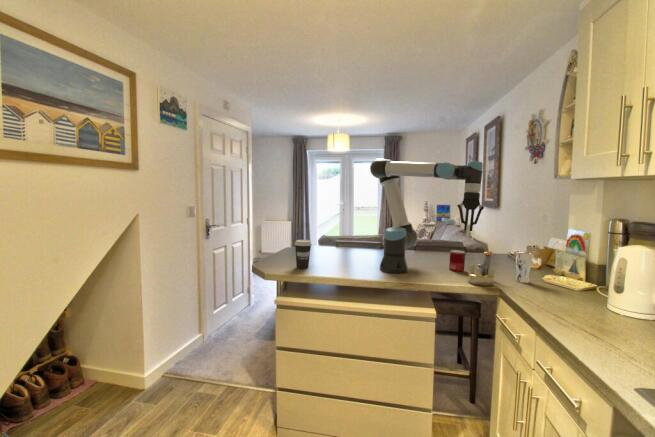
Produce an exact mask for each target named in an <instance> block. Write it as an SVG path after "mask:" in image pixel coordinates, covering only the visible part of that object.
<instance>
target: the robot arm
mask: <svg viewBox="0 0 655 437" xmlns="http://www.w3.org/2000/svg"><path fill="white" fill-rule="evenodd" d="M483 169H484V168H483V162H482V161H477V160H474V161H473V160H471V161H470V160H469V161H467V162H466V165H462V164H461V165H460V164H459V165H458V164H457V165H456V164H452V163H450V162H446V161H445V162H421V161H394V160H392V159H385V158H382V157H380V158H375V159H374V160H373V161H372V162H371V164H370V167H369V171H370V173H371V175H372V176H373V177H374V178H376V179H379V184H380V185H381V186H383V189H384V192H385V193H384V194H385V196H386V199H387V204H388V208H389V212H390V217H391V220H392V223H393V226H392V227H388V228H386V229H385V230H384V235H383V238H384V239H383V256H382V259H381V262H380V264H379V271H381V272H385V273H388V274H389V273H391V274H403V273H404V274H405V273H408V271H409V270H408V264H407V260H406V250H407V249H411V248H413V247H414V246H415V245H416V244H417V242H418V233H417V230H415V228H414V227H413V225H412V223H411V222H410V221H409V220H408V216H407V213H406V208H405V205H404V201H403V196H402V193H401V189H400V186H399V181H400V177H415V178H416V177H417V178H418V177H419V178H433V179H434V178H435V179H443V180H449V181H450V180H455V181H456V180H458V181H459V180H462V181H464V182H465V183H464V192H463V200H462V201H461V203H458V204H457V208H458V211H459V215H460V223H461V224H463V225H464V228H463V230H464V231H465V238H470V235H471V233H470V232H473V226H474V225H477V224H478V221H479V219H480V217H481V213H482V211H483V210H484V209H485V206H484V205H482V204H481V202H480V198H481V193H480V192H481V188H482V177H483V171H484V170H483ZM463 207H464V208H465V216H464V212H463ZM476 209H479V210H478V212H477V214H476V217H475V210H476ZM469 213H470V221H469ZM464 217H465V218H464ZM474 217H475V218H474ZM474 219H475V220H474ZM469 222H470V223H469ZM468 223H469V224H468Z"/></svg>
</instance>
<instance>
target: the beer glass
mask: <svg viewBox="0 0 655 437" xmlns="http://www.w3.org/2000/svg"><path fill="white" fill-rule="evenodd" d="M532 263H533V252H530V251H524V250H517V252H516V256H515V269H516V276H515V282H517V283H521V284H529V283H530V278H529V277H530V271H531V268H532Z"/></svg>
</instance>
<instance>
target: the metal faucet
mask: <svg viewBox="0 0 655 437" xmlns="http://www.w3.org/2000/svg"><path fill="white" fill-rule="evenodd" d="M483 255H484V256H483V263H477V264H476V269H475V265H474V264H469V265H468V279H467V282H468V283H469V284H472V285H476V286H481V287H491V286H492V287H493V286H494V279H495V278H494V277H495V267H491V260H492V255H493V254H492V252H490V251H484V252H483ZM475 270H476V271H475Z"/></svg>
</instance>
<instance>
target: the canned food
mask: <svg viewBox="0 0 655 437" xmlns="http://www.w3.org/2000/svg"><path fill="white" fill-rule="evenodd" d="M465 261H466V252H465V251H463V250H458V249H451V250H450V251H449V265H448V266H449V268H448V269H449V271H451V270H452V271H451V272H456V271H463V272H464V271H465V265H466V264H465V263H466V262H465Z"/></svg>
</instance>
